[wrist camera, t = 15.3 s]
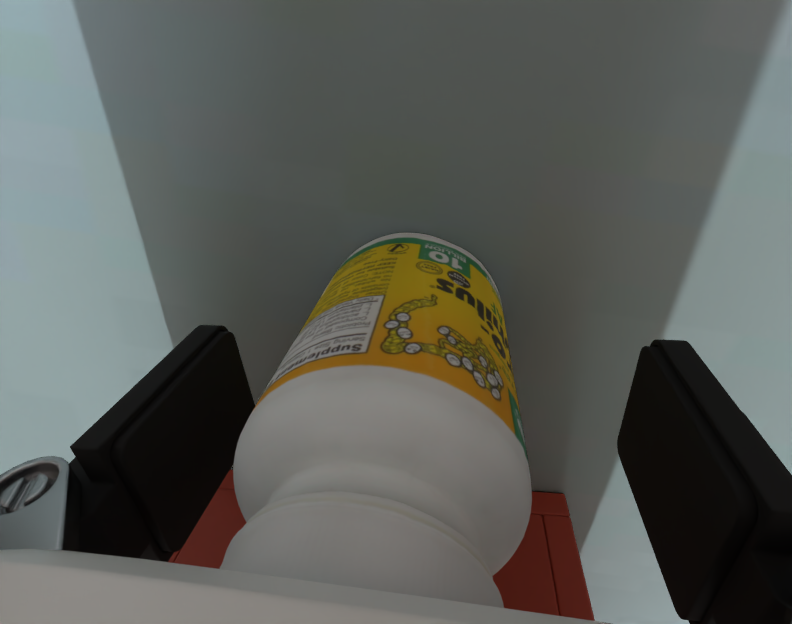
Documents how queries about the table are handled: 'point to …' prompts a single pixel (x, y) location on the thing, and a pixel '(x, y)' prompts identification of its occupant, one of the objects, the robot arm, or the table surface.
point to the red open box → (517, 580)
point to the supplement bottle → (390, 434)
